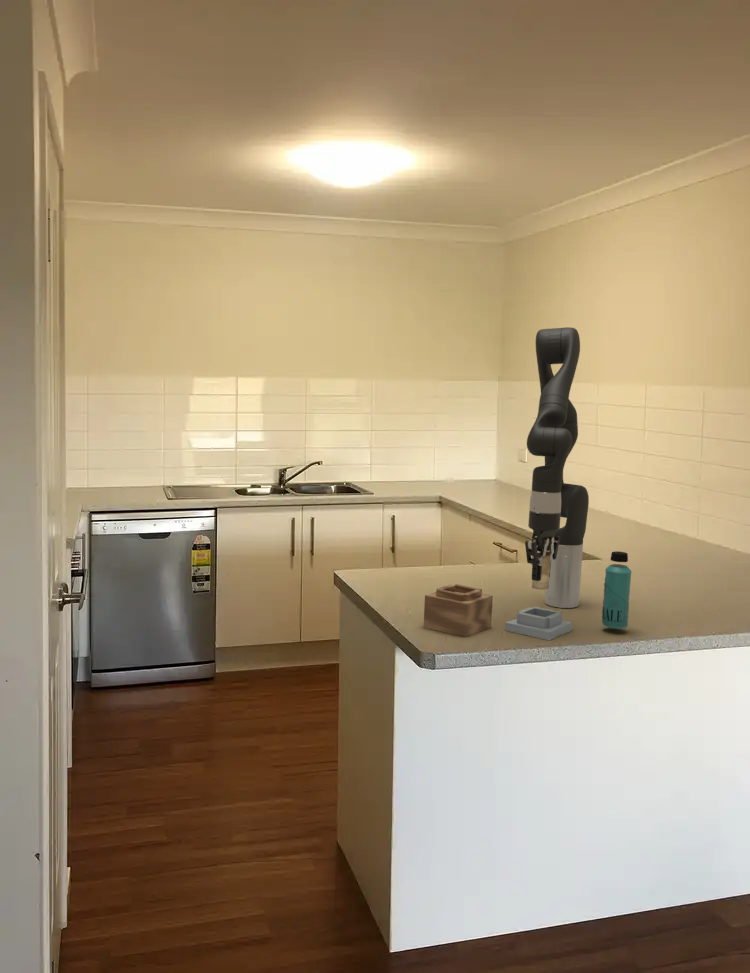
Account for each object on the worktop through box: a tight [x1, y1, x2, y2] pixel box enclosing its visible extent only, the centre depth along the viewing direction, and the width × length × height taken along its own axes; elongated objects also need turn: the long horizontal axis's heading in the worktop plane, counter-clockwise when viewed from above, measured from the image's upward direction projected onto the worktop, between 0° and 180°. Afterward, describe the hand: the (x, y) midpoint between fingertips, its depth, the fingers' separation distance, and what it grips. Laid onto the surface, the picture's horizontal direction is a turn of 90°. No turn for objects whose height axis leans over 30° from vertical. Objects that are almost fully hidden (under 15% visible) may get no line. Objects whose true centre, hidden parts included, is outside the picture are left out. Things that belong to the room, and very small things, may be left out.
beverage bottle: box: [601, 550, 632, 630], centre depth 236 cm, size 6×7×20 cm
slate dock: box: [504, 606, 573, 641], centre depth 235 cm, size 12×12×4 cm
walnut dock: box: [423, 583, 494, 638], centre depth 235 cm, size 12×12×10 cm
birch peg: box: [531, 555, 551, 591], centre depth 233 cm, size 4×4×8 cm
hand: (540, 578), depth 234 cm, fingers closed on birch peg, 4 cm apart
